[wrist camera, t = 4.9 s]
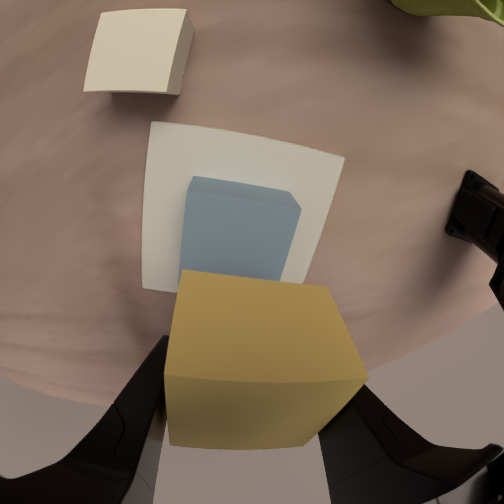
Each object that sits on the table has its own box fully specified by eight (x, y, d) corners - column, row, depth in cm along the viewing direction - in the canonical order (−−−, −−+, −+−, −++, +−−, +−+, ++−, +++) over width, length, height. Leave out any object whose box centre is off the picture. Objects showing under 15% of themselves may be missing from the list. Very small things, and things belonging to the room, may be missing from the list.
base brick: (289, 191, 17) (301, 208, 14) (267, 270, 20) (274, 297, 17) (193, 175, 16) (187, 190, 13) (183, 260, 19) (177, 286, 16)
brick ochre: (326, 286, 9) (369, 377, 6) (286, 370, 12) (303, 446, 8) (182, 268, 9) (163, 374, 5) (177, 362, 11) (170, 445, 8)
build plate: (340, 155, 17) (344, 158, 16) (292, 299, 22) (294, 305, 22) (154, 120, 14) (151, 121, 14) (144, 281, 20) (142, 288, 19)
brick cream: (195, 29, 12) (186, 9, 8) (179, 95, 14) (166, 92, 11) (126, 29, 11) (101, 12, 8) (112, 92, 13) (83, 91, 10)
